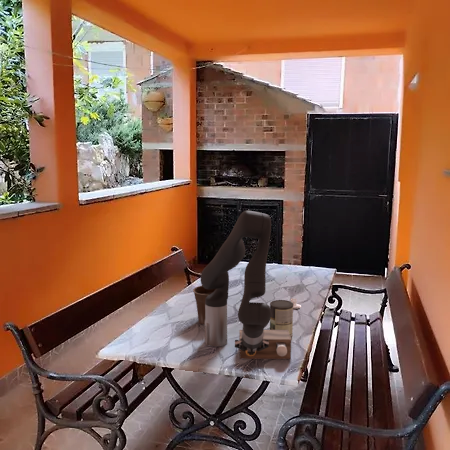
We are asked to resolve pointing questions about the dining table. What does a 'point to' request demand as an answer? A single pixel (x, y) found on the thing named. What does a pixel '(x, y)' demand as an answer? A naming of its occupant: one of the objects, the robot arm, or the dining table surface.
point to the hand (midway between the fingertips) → (250, 352)
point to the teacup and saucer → (295, 304)
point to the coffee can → (281, 315)
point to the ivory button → (281, 348)
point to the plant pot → (201, 301)
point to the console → (270, 345)
